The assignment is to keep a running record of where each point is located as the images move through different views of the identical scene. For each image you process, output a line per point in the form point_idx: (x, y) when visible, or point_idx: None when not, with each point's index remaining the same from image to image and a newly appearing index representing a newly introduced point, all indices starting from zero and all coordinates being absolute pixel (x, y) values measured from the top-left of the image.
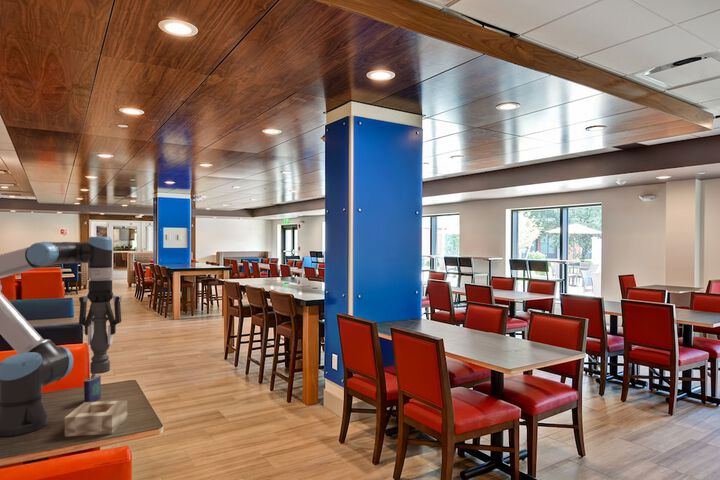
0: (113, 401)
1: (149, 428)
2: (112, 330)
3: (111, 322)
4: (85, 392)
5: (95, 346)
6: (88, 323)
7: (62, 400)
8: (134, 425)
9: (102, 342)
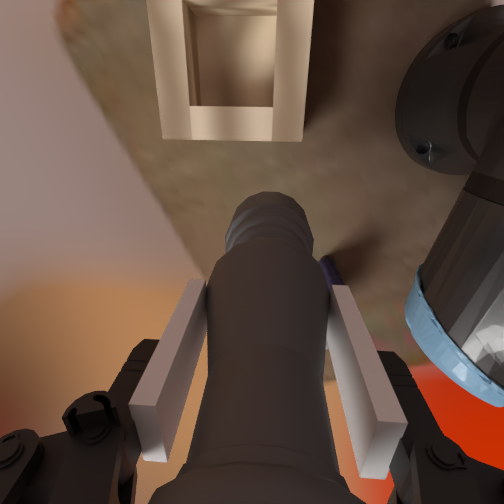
0: (204, 132)
1: (69, 16)
2: (138, 370)
3: (85, 457)
4: (336, 272)
5: (278, 243)
6: (418, 476)
7: (398, 298)
8: (128, 55)
9: (230, 270)
